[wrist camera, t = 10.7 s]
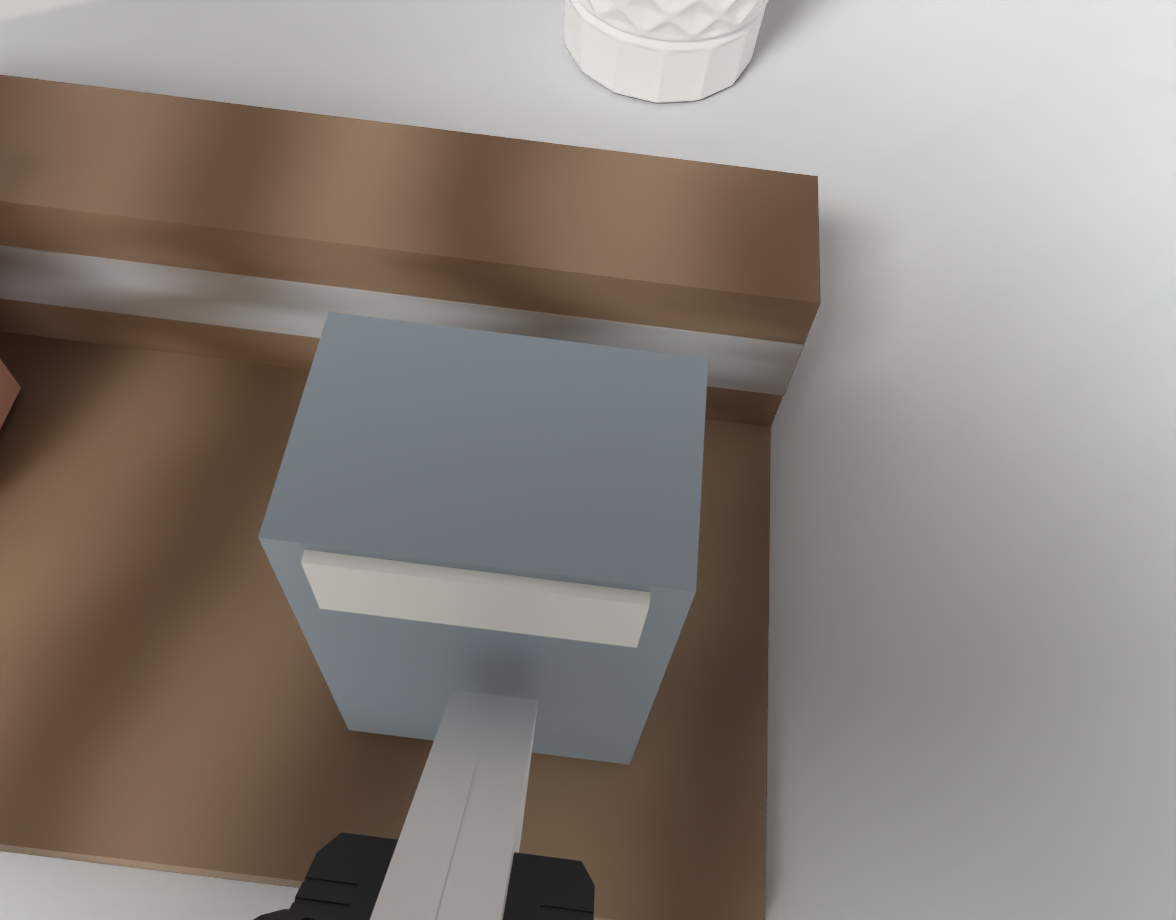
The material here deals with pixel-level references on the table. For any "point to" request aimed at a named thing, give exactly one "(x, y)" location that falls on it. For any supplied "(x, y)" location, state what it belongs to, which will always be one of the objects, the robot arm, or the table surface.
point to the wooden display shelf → (258, 442)
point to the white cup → (663, 44)
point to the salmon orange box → (7, 392)
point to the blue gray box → (491, 526)
